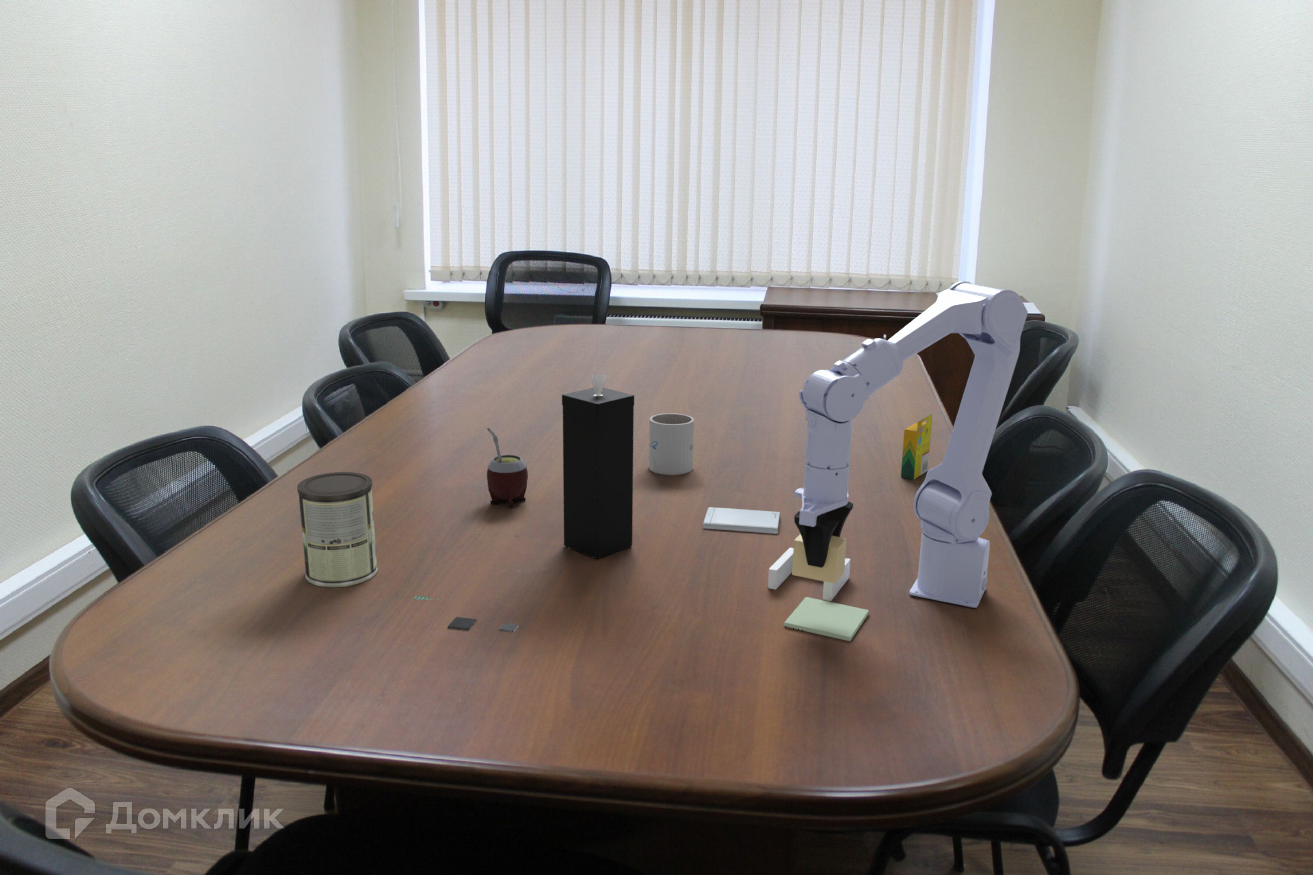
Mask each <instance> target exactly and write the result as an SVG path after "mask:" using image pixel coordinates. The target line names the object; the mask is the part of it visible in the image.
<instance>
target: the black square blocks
mask: <svg viewBox="0 0 1313 875" xmlns="http://www.w3.org/2000/svg"><path fill="white" fill-rule="evenodd" d="M425 598H426V599H425ZM429 598H433V597H432V596H431V597H430V596H421V595H416V596H415V597H414V598H413V600H414V601H415V600H418V601H419V600H420V601H421V600H424V601H425V600H427V601H428V600H429ZM437 598H438V599H437V600H440V599H439V598H440V597H437ZM430 600H431V601H432V599H430ZM430 600H429V601H430ZM477 620H478V619H476V618H469V617H462V616H461V617H459V616H456V617H454V618H453V620H452V621H451V622H450V623H449V624H448V625H447V629H450V630H460V631H461V630H462V631H470V630H471V629H472V627H473V626H474V625H475V624H476V623H477V622H478V621H477ZM474 623H475V624H474ZM517 628H519V625H518V624H517V623H507V622H504V623H503V624H502V625H501V626H500V627H499V628H498V630H499V632H501V631H502V632H511V633H515V631H516V630H517Z"/></svg>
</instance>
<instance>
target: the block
mask: <svg viewBox="0 0 1313 875" xmlns="http://www.w3.org/2000/svg"><path fill="white" fill-rule="evenodd" d="M847 540H848V539H847V538H845V537H841V536H840V537H836V536H832V537H831V540H830V544H829V548H828V553H827V558H826V561H825V564H824V566H823V567H822V568H820V567H815V566H810V565H808V563H807V559H806V554H805V549H804V544H803V540H802V537H801V534H800V533H799V535H798V536H796V538H795V539H793V548H794V550H793V568H792V573H791V574H792V576H797V577H801V578H805V579H809V580H810V579H811V580H815V581H821V582H824V581H825V582H829V583H834V584H835V583H836V582H837V581H838V580H839V579H840V577H841V576H842V575H843V574H844V569H845V558H846V554H847V553H846V551H847V543H848V542H847Z"/></svg>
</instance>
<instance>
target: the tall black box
mask: <svg viewBox="0 0 1313 875" xmlns="http://www.w3.org/2000/svg"><path fill="white" fill-rule="evenodd" d="M590 377H591V382H592V385H593V387H591V388H587V389H583V390H578V391H577V390H576V391H572V392H569V393H564V394H561V405H562V471H563V472H562V475H563V477H562V478H563V482H562V483H563V487H562V488H563V546H564V547H566V548H568V549H571V550H573V551H576V552H578V553H581V554H582V555H586V556H588V557H591V558H592V559H601V558H604V557H606V556H609V555H612V554H614V553H617V552H619V551H623V550H625V549H627V548H629V547H632V546H633V510H634V509H633V507H634V505H633V503H634V502H633V500H634V495H633V494H634V418H635V416H634V411H635V410H634V407H635V395H634V394H631V393H627V392H623V391H620V390H619V391H618V390H614V389H610V388H606V387H604V386H605V382H606V379H607V374H591V375H590Z"/></svg>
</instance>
